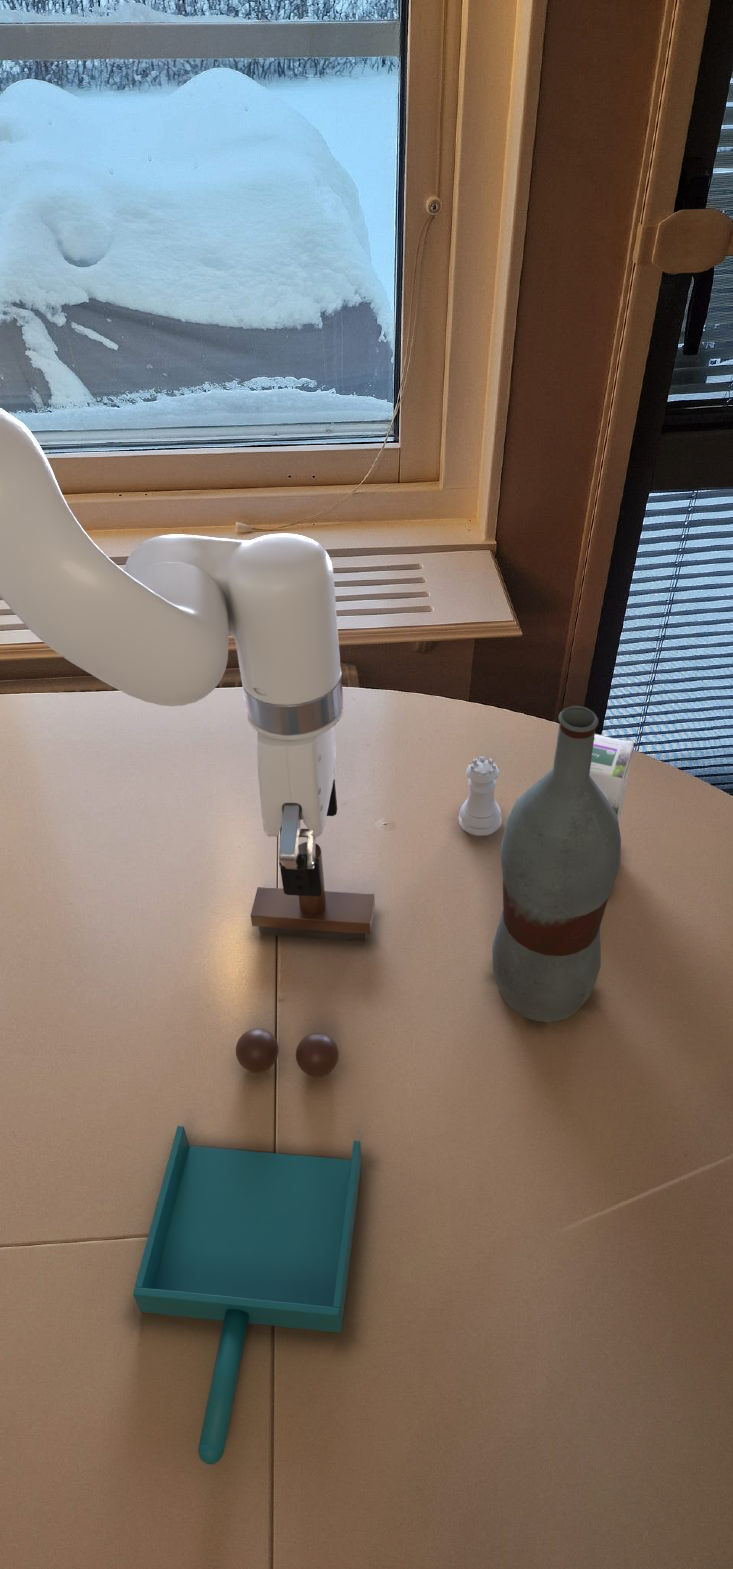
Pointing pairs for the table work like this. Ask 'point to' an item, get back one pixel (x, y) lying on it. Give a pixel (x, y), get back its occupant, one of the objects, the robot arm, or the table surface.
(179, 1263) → the dustpan
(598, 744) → the syrup box
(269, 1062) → the ball left
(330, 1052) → the ball right
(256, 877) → the table surface
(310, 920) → the brush
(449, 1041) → the table surface
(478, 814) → the rook chess piece
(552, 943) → the bottle
